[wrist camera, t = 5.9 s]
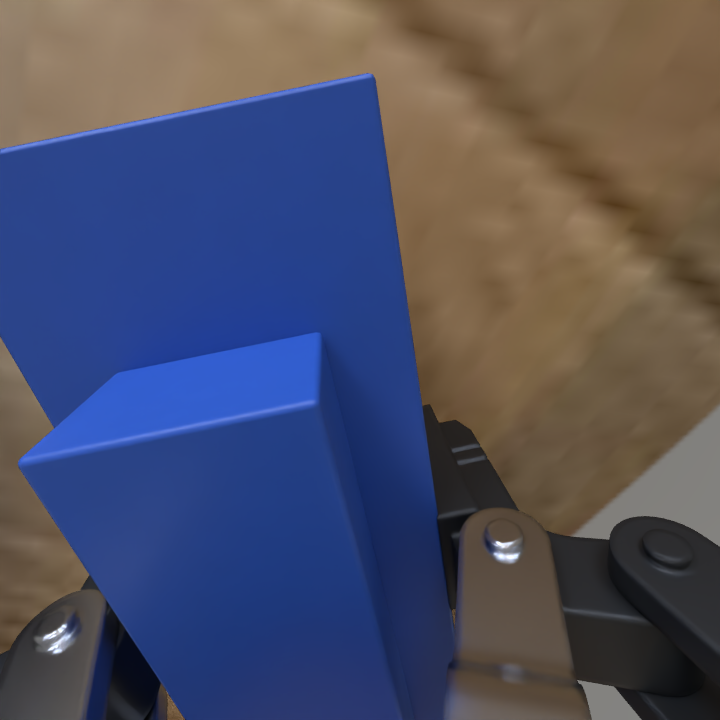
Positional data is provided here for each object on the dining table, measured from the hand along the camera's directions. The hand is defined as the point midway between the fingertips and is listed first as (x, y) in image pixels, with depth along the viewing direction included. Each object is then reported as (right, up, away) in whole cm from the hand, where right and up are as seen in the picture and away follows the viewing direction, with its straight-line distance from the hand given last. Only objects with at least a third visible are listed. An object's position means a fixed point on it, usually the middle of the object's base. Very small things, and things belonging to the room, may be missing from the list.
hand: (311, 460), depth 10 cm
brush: (0, 0, +1) cm, 1 cm away
